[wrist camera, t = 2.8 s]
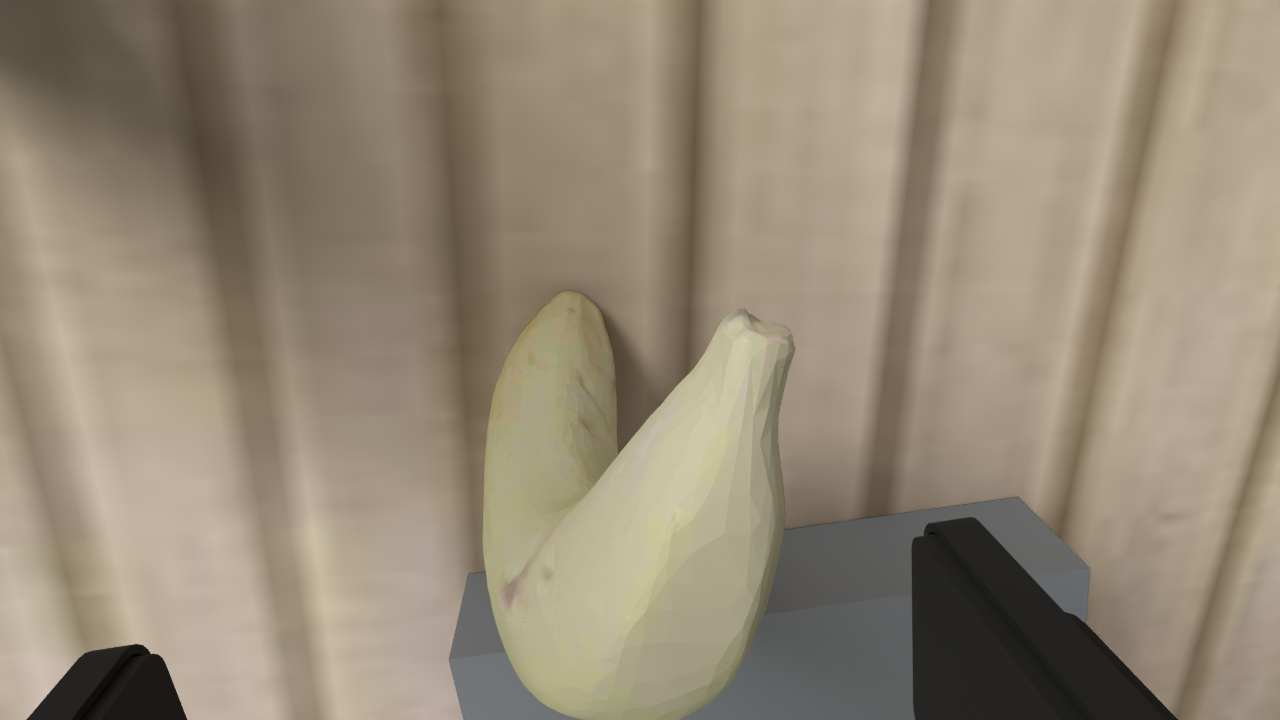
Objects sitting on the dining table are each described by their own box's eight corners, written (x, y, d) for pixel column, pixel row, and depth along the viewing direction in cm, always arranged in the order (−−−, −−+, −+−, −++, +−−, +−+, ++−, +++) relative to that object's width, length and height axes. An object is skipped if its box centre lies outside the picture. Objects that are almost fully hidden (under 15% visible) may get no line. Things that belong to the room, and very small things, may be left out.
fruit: (433, 509, 23) (542, 538, 24) (501, 933, 9) (767, 961, 10) (520, 270, 23) (626, 310, 24) (738, 293, 8) (980, 392, 9)
